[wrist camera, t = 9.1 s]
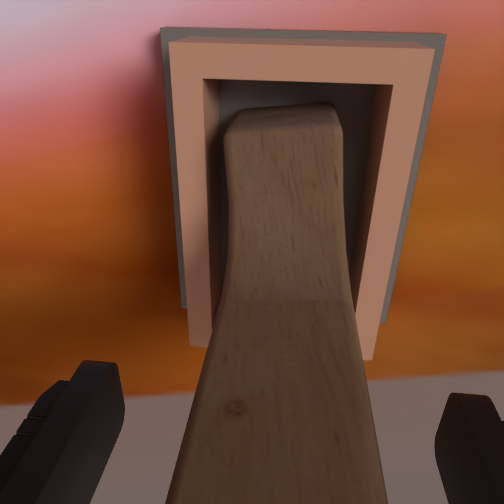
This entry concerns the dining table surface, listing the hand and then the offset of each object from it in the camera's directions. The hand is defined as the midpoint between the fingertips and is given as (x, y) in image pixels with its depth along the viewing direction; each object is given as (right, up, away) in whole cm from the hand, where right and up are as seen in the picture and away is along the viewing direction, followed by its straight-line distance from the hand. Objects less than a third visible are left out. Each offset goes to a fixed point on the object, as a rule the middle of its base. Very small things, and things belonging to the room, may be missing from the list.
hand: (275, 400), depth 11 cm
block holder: (+1, +7, +12) cm, 14 cm away
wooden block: (+1, +7, +11) cm, 13 cm away
